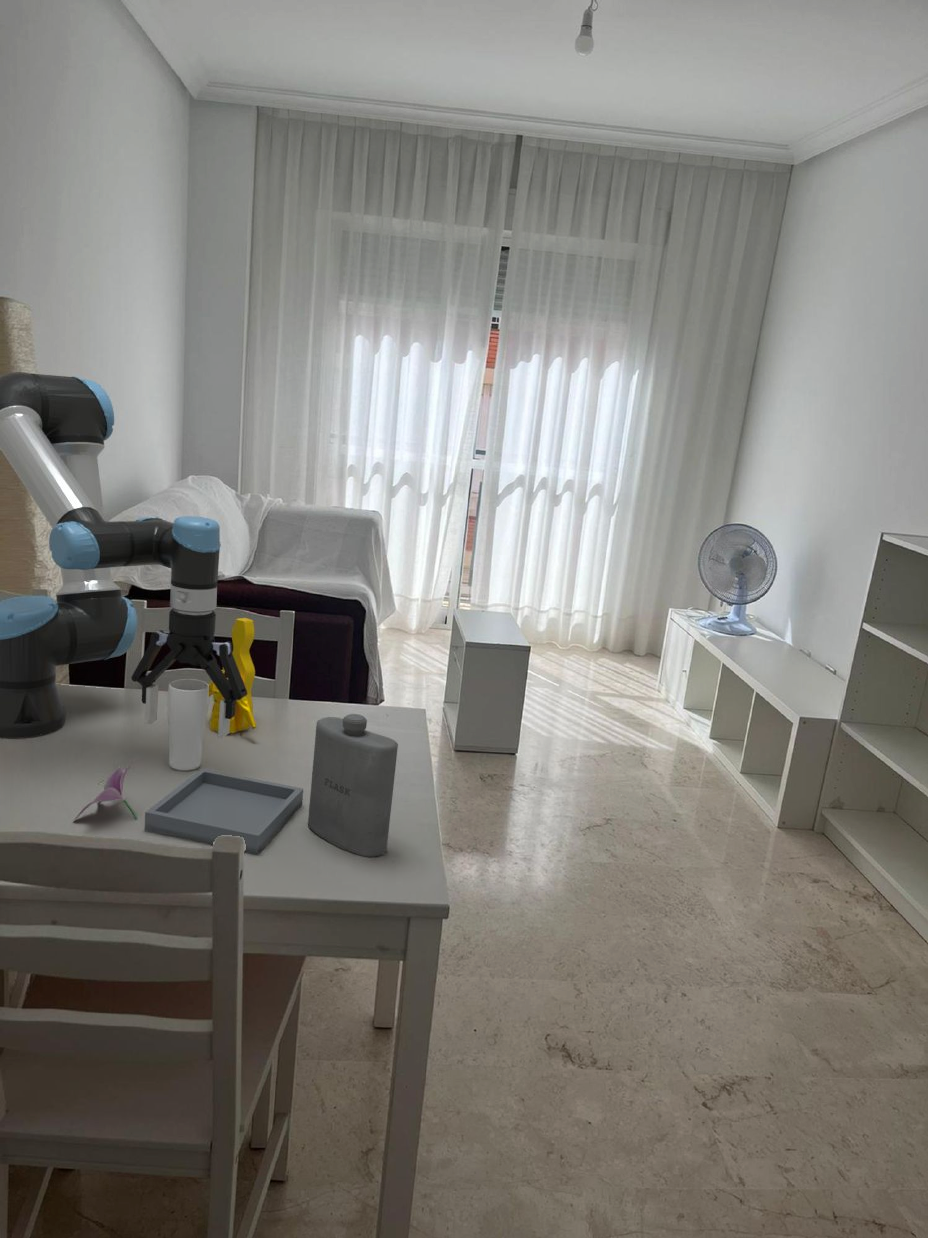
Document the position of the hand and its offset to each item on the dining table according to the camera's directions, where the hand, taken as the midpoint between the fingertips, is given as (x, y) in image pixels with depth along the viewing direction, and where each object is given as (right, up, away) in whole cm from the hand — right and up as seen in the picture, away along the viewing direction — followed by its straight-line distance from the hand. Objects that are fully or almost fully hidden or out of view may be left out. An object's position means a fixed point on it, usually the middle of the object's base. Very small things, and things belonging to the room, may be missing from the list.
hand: (187, 728), depth 159 cm
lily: (-6, -11, -19) cm, 23 cm away
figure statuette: (+2, -3, +21) cm, 21 cm away
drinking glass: (-1, -7, +2) cm, 7 cm away
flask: (+29, -15, -17) cm, 37 cm away
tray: (+11, -12, -15) cm, 22 cm away
